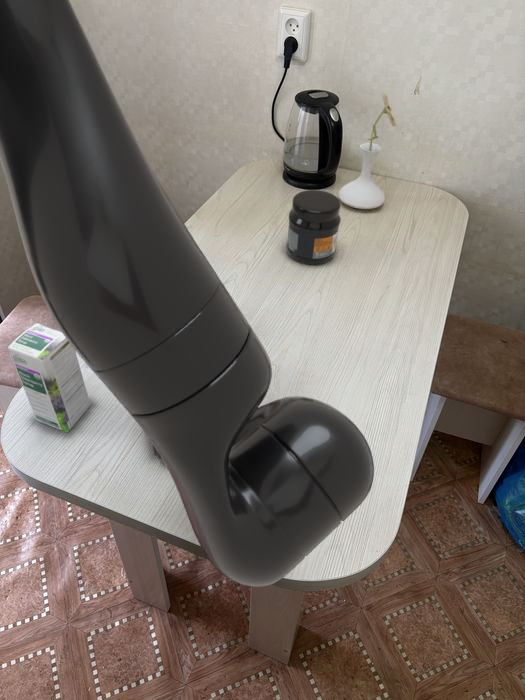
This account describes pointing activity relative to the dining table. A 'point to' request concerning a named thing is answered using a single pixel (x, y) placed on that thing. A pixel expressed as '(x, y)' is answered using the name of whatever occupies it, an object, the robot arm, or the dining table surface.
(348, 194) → the flower in vase
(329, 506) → the robot arm
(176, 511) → the dining table surface
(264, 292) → the dining table surface
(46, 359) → the syrup box
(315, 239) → the supplement container
